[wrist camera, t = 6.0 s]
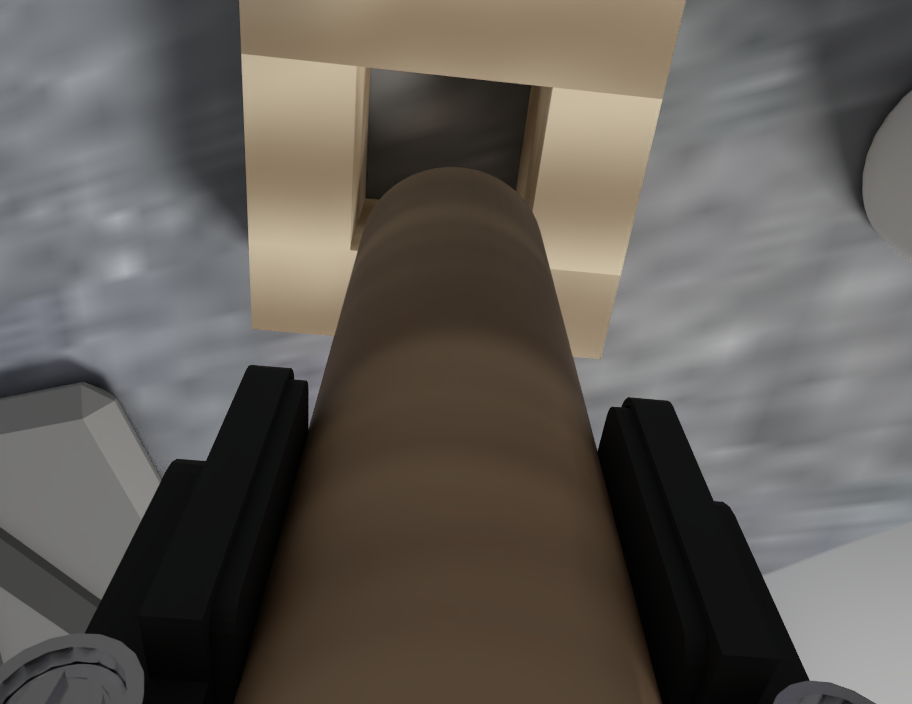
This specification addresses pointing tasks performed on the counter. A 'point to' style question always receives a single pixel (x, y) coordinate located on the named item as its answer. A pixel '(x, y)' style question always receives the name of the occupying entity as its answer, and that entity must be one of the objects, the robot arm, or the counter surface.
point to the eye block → (458, 55)
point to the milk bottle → (891, 179)
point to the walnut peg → (449, 483)
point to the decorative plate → (64, 508)
